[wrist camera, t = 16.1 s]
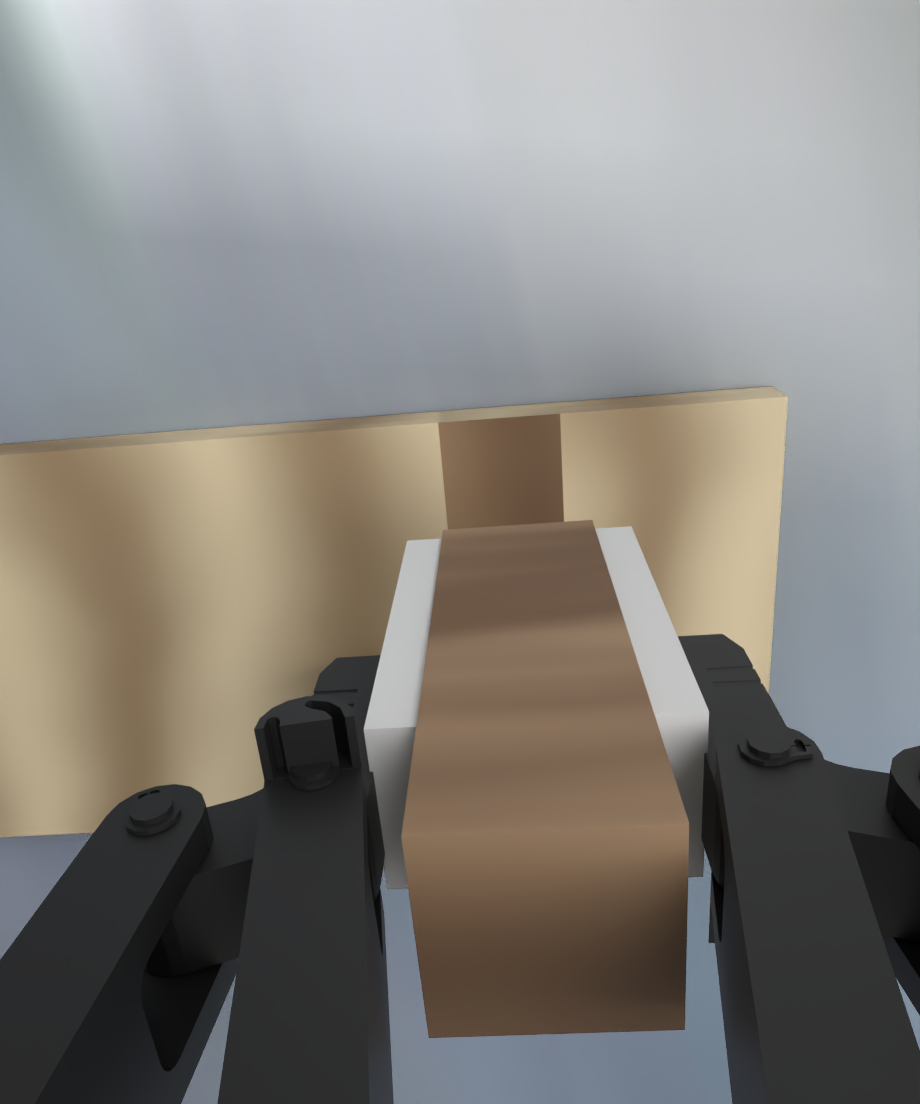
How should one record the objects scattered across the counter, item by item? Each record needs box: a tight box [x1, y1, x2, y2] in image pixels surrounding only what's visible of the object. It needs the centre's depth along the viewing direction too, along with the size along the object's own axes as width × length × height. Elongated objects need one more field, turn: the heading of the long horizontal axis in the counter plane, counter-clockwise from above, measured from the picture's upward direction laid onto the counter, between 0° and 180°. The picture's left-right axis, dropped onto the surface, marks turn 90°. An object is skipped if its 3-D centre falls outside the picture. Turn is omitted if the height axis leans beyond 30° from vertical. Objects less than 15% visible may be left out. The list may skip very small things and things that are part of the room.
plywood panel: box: [0, 386, 788, 837], centre depth 24 cm, size 24×12×1 cm, turn 95°
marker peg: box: [401, 520, 689, 1038], centre depth 14 cm, size 3×3×9 cm
